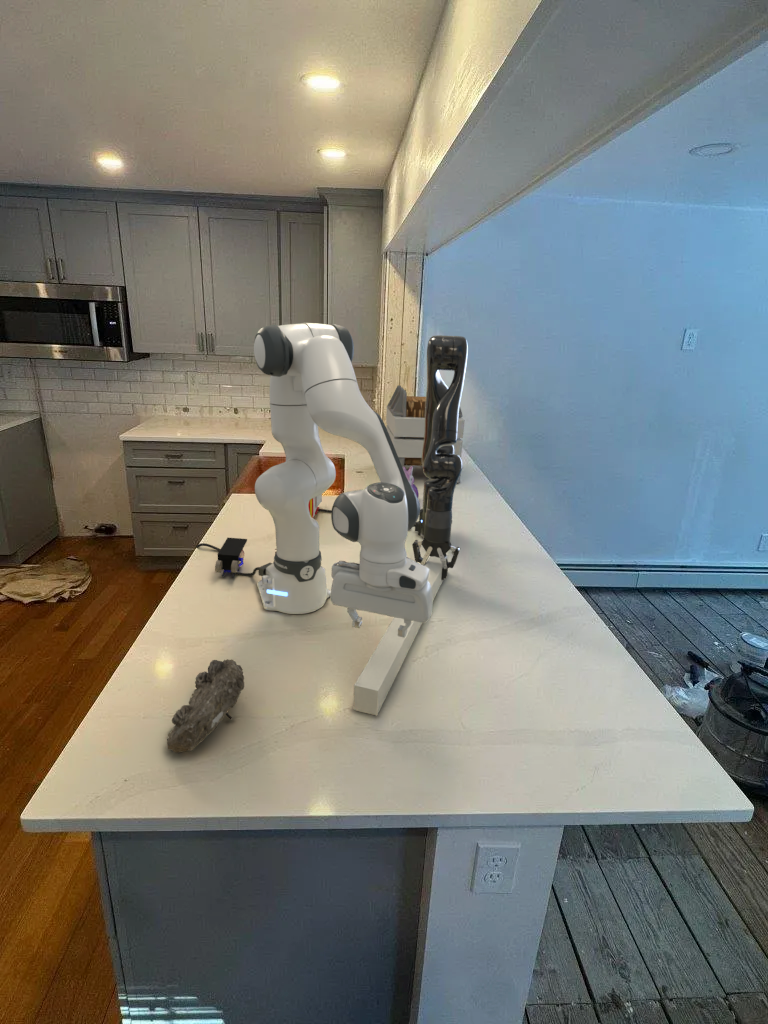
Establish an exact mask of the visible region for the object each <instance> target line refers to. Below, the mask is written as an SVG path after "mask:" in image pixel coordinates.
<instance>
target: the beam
mask: <svg viewBox="0 0 768 1024" xmlns="http://www.w3.org/2000/svg"><path fill="white" fill-rule="evenodd" d="M447 559H448V560H449V555H448V554H447ZM425 567H427V568H428V569H429V576H428V580H427V581H428V582H429V583H430V585H431V588H432V597H433V601H434V600H435V598H436V595H437V594H438V592H439V589H440V588H441V586H442V583H443V581H444V580H441V577H442V568H443V565H442V562H441V560H440V558H437V557H435V556H433V557H431V556H429V558H428V560H427V561H426V564H425ZM405 624H406V623H404V619H401V618H396V617H393V618H392V621H391V622H390V623H389V625H388V627H387V628H386V631H385V632H384V633H383V636H381V639H380V640H379V642H378V644H377V646H376V647H375V649H374V651H373V652H372V654H371V656H370V657H369V659H368V661H367V662H366V664H365V666H364V668H363V669H362V671H361V672H360V674H359V676H358V678H357V679H356V681H355V683H354V685H353V707H352V710H353V711H356V712H360V713H363V714H368V715H373V716H376V717H377V716H378V714H379V712H380V710H381V708H382V706H383V704H384V702H385V701H386V698H387V696H388V694H389V692H390V690H391V688H392V686H393V684H394V682H395V680H396V678H397V676H398V673H399V672H400V670H401V668H402V665H403V664H404V661H405V659H406V658H407V655H408V653H409V650H410V649H411V647H412V645H413V643H414V641H415V638H416V637H417V634H418V633H419V631H420V629H421V626H422V624H423V623H421V622H416V621H412V623H411V625H410V626H409V627H408V629H407V634H406V637H405V638H404V637H399V636H398V628H399V626H400V625H403V626H404V625H405Z"/></svg>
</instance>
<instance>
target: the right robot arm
mask: <svg viewBox="0 0 768 1024" xmlns="http://www.w3.org/2000/svg"><path fill="white" fill-rule="evenodd" d="M468 345H469V344H468V340H467V338H466V337H465V336H461V335H432V336H431V337H430V338H429V339H428V342H427V346H426V391H425V392H426V393H425V397H426V402H425V431H424V440H423V448H422V458H421V460H422V466H421V467H422V472H423V474H424V476H425V477H426V478H427V479H425V480H424V482H423V493H422V496H423V497H422V506H421V508H420V514H419V517H418V520H417V521H416V523H415V525H414V526H413V527H412V528H414V532H417V535H418V536H420V538H421V539H422V540H417V539H415V540H414V541H413V542H412V550H413V555H414V561H415V562H417V563H419V564H421V565H423V566H425V564H426V563H427V561H428V559H429V558H430V556H431V557H433V556H435V557H437V558H440V560H441V562H442V565H443V568H442V577H441V580H443V581H445V579H447V577H448V574H449V569H453V568H454V567H455V565H456V563H457V559H458V557H459V555H460V552H461V547H459V546H454V545H452V542H451V534H452V524H453V501H454V493H455V489H456V486H457V484H458V483H457V481H458V479H459V476H460V477H461V474H462V471H463V465H464V463H463V460H461V458H462V457H461V458H460V456H458V455H456V454H455V449H454V446H453V445H454V444H455V443H456V442H457V433H458V416H459V407H460V408H461V401H462V395H463V390H464V385H465V378H466V370H467V364H468V356H469V355H468V353H469V346H468ZM440 371H448V372H449V371H450V372H453V377H452V380H451V383H450V385H449V386H448V385H447V384H446V383H445V381H444V380H443V377H442V376H441V373H440ZM318 512H322V513H327V514H328V513H329V514H331V513H332V509H323V508H319V509H318ZM421 548H423V549H424V551H425V554H424V556H422V555H421ZM449 551H451V553H450V554H451V555H452V558H451V560H450V561H449V558H448V559H447V555H448V554H447V553H448V552H449Z"/></svg>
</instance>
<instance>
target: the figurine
mask: <svg viewBox="0 0 768 1024" xmlns="http://www.w3.org/2000/svg"><path fill="white" fill-rule="evenodd" d="M402 468H403V470H404V473H405V475H406V477H407V479H408V481H409V483H410V485H411V487H412V488H413V490H414V491H415V493H416V495H417V497H418V498H419V496H420V495H419V494H420V493H419V490H418V487H417V486H416V484H415V478H414V476H413V471H414V466H410V467H408V469H407V468H406V467H405V466H404V467H402Z"/></svg>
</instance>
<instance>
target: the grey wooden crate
mask: <svg viewBox="0 0 768 1024" xmlns="http://www.w3.org/2000/svg"><path fill="white" fill-rule="evenodd" d="M407 394H408V393H407V390H406V389H404V388H403V387H402V385H399V384H398V385H397V386H396V388H395V390H394V392H393V394H392V395H391V398H390V400H389V402H388V404H387V405H386V413H385V414H386V415H385V423H386V425H385V426H386V429H387V431H388V433H389V436H390V438H391V440H392V443H393V445H394V448H395V450H396V453H397V455H398V458H399V460H400V463H401V465H402V467H405V466H406V467H407V466H410V467H411V466H413V467H415V466H416V467H417V466H418V467H423V466H422V460H421V458H422V448H423V440H424V431H425V402H426V396H415V395H414V396H413V395H412V396H411V395H407ZM464 429H465V419H464V418H463V411H462V408H461V406H460V407H459V416H458V433H457V442H456V443H455V444H454V445H453V446H454V449H455V454H456V455H458V456H460V458H461V460H462V453H463V442H464V441H463V440H462V439H463V438H464V431H465V430H464ZM462 461H463V460H462ZM459 483H461V475H460V476H459V479H458V481H457V484H459Z"/></svg>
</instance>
